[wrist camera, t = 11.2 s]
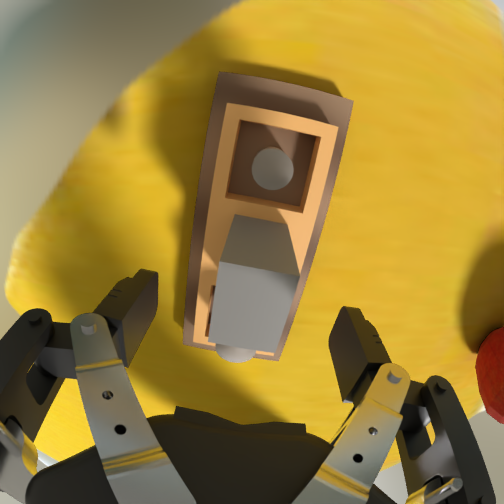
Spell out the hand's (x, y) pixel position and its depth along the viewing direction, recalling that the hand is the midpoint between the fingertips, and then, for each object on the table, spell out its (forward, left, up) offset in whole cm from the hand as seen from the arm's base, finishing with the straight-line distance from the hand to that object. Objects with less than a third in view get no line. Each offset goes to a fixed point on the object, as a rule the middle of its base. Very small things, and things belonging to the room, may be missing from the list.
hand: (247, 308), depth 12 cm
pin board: (0, 0, -8) cm, 8 cm away
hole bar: (0, 0, -7) cm, 7 cm away
